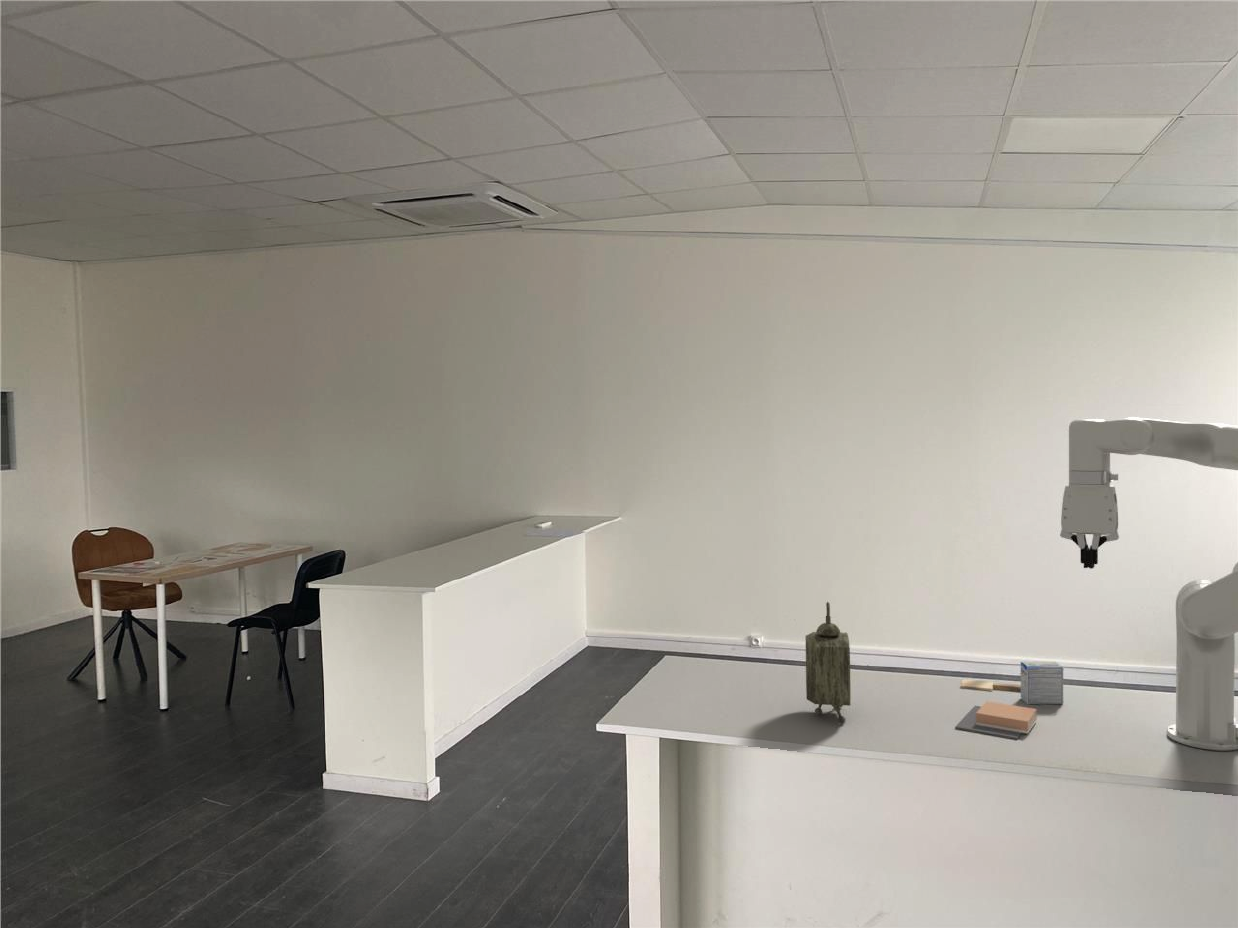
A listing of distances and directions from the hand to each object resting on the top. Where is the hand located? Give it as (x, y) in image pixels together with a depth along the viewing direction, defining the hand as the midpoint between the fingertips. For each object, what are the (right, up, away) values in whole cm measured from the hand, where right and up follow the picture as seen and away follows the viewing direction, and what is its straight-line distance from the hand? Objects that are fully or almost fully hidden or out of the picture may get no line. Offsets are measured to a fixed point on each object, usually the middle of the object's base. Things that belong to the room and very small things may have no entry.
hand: (1089, 567), depth 182 cm
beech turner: (-8, -32, +27) cm, 43 cm away
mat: (-18, -33, +4) cm, 38 cm away
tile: (-12, -32, 0) cm, 34 cm away
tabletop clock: (-52, -34, +11) cm, 63 cm away
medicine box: (-2, -33, +17) cm, 37 cm away
